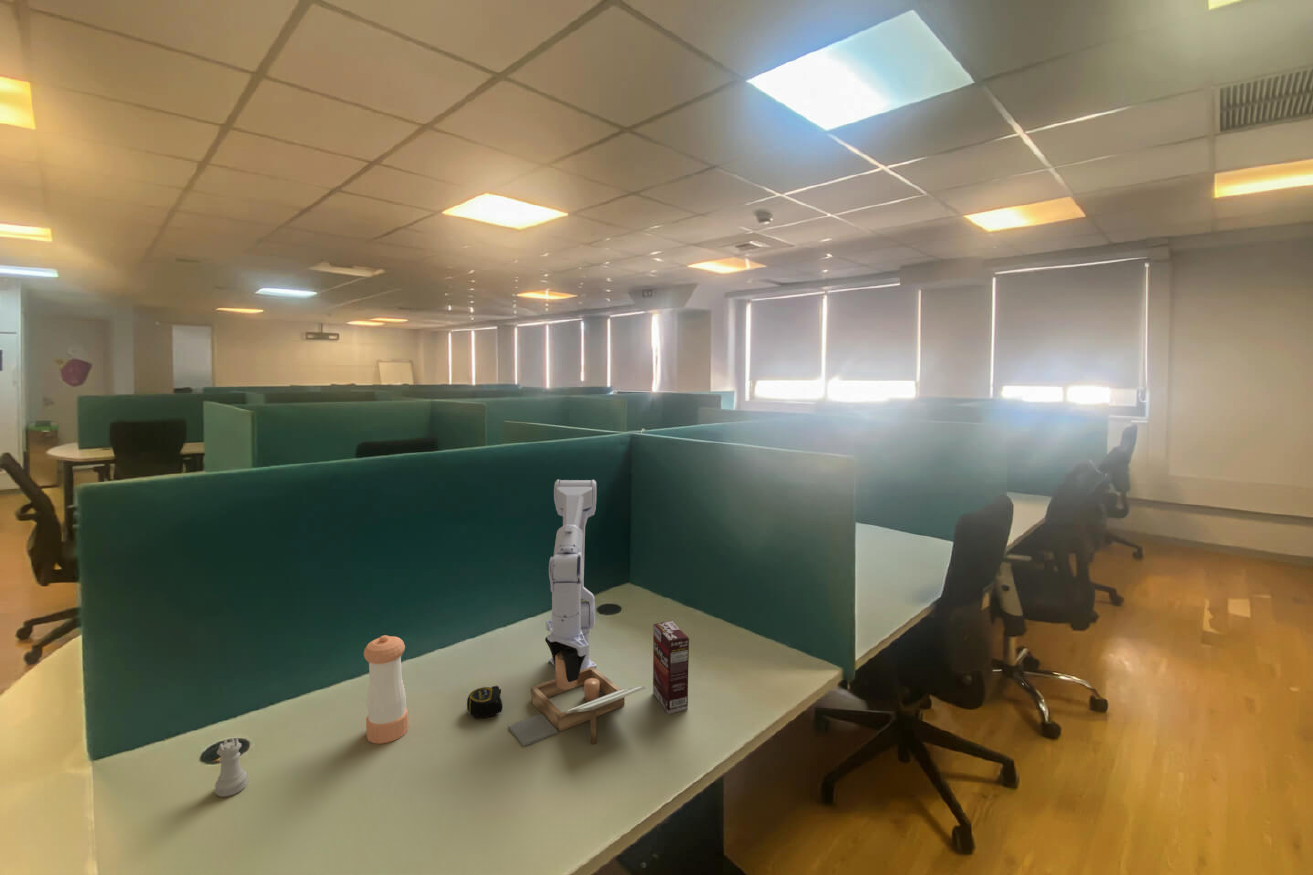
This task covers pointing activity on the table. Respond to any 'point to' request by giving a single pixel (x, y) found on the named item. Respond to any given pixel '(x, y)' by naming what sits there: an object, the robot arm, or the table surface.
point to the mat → (532, 729)
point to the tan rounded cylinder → (591, 689)
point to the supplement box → (670, 666)
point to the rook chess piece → (230, 770)
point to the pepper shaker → (386, 691)
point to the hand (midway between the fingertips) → (566, 674)
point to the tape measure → (484, 702)
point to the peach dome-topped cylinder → (562, 674)
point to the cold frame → (584, 711)
